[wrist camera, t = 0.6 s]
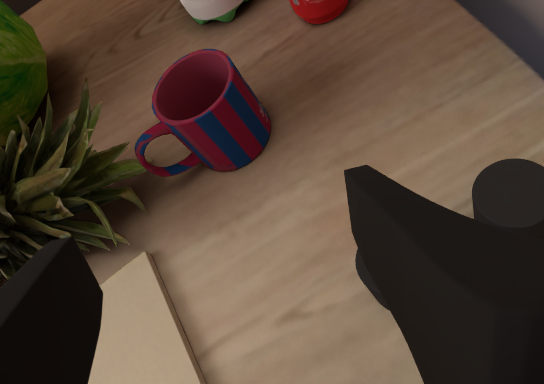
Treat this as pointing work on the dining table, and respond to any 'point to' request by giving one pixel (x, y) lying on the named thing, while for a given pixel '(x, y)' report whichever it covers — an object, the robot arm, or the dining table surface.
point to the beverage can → (318, 10)
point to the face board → (141, 332)
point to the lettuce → (19, 73)
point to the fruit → (58, 186)
